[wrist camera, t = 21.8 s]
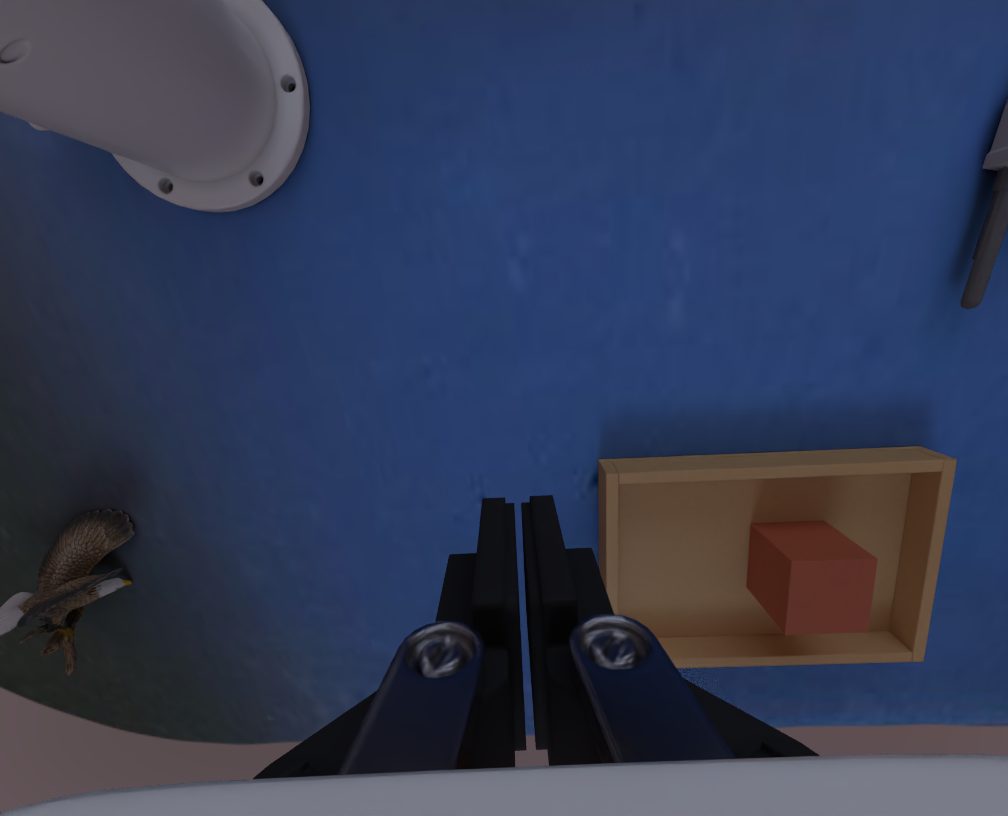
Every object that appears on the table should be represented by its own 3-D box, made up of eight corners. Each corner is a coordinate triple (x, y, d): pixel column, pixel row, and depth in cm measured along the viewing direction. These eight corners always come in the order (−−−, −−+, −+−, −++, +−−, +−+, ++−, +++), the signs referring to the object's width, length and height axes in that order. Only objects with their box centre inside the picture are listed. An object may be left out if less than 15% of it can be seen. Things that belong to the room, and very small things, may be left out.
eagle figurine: (140, 647, 35) (160, 565, 32) (3, 703, 30) (9, 609, 26) (107, 572, 39) (122, 491, 35) (-22, 609, 33) (-20, 515, 29)
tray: (599, 642, 36) (606, 670, 33) (598, 459, 33) (605, 473, 30) (892, 634, 35) (923, 662, 32) (919, 445, 32) (957, 459, 29)
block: (746, 587, 34) (784, 635, 29) (750, 522, 33) (791, 561, 28) (817, 584, 34) (868, 632, 29) (824, 520, 33) (878, 558, 28)
